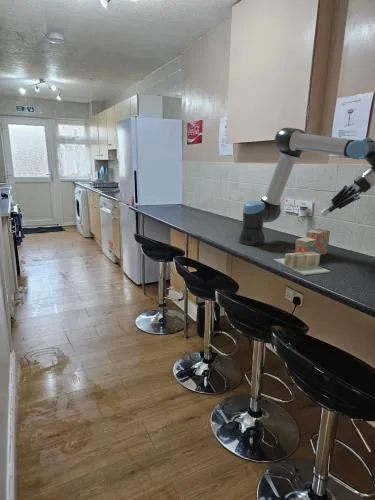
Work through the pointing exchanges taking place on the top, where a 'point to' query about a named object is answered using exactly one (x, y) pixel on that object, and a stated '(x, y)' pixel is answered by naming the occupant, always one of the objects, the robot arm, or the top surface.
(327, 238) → the stack of blocks
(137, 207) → the top surface
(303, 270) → the sage cutting board
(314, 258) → the maple block
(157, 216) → the top surface
